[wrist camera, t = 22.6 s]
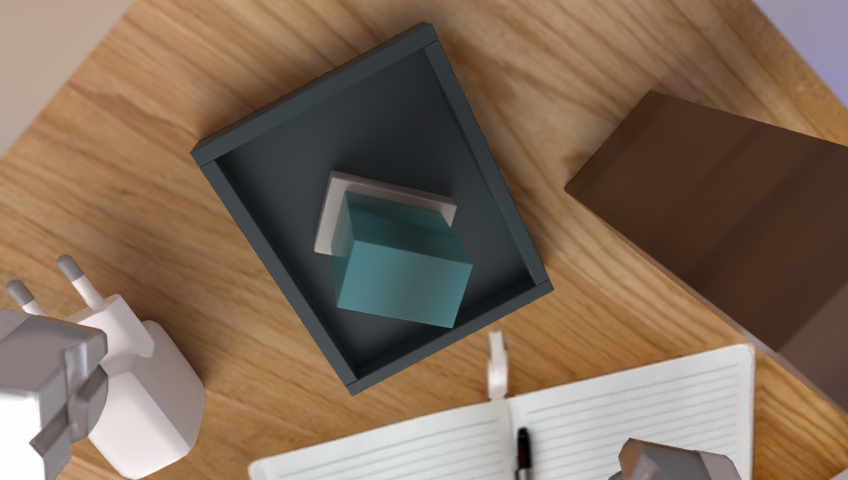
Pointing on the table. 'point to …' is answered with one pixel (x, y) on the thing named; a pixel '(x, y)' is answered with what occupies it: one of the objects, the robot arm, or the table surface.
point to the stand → (736, 226)
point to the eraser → (392, 250)
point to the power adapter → (134, 381)
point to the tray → (384, 161)
